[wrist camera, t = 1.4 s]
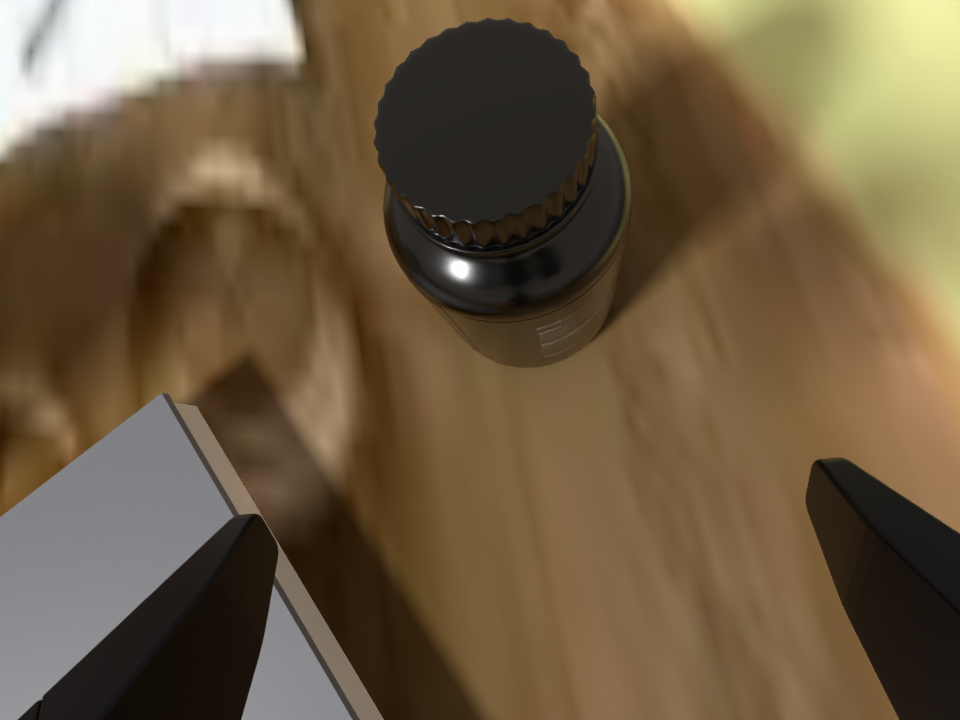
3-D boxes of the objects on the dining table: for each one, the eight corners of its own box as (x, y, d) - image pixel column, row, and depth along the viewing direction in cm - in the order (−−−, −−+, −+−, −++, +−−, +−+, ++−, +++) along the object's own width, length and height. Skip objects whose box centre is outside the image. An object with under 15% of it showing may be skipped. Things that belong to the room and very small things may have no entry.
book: (473, 839, 21) (458, 900, 18) (169, 1066, 21) (105, 1163, 18) (208, 401, 26) (161, 393, 23) (-40, 591, 26) (-118, 608, 23)
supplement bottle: (602, 197, 24) (633, -58, 12) (624, 360, 23) (683, 250, 11) (439, 222, 25) (322, 6, 13) (451, 379, 23) (334, 297, 12)
